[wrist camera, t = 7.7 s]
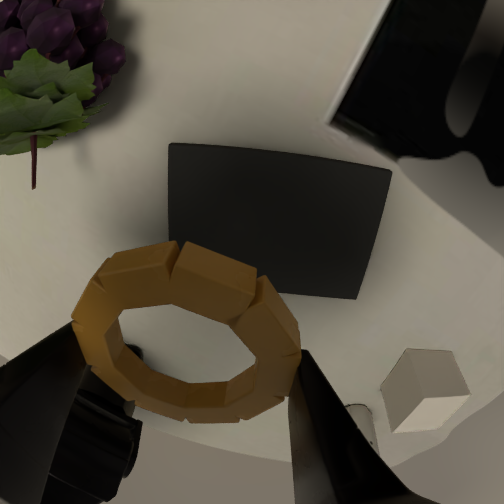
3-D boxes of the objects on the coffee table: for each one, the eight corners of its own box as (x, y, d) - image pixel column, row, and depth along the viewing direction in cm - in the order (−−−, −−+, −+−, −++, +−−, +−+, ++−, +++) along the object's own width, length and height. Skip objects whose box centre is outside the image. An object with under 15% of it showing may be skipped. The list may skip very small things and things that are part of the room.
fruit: (145, -18, 15) (141, 174, 19) (24, 18, 14) (14, 194, 18) (112, -105, 5) (71, 179, 9) (-45, -29, 4) (-85, 217, 8)
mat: (389, 169, 18) (393, 172, 18) (354, 295, 23) (356, 300, 23) (171, 142, 19) (168, 144, 18) (172, 275, 23) (170, 280, 23)
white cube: (450, 350, 27) (471, 394, 21) (423, 386, 29) (437, 429, 24) (406, 348, 26) (424, 398, 21) (380, 386, 29) (391, 433, 24)
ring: (317, 253, 8) (323, 280, 7) (277, 408, 12) (277, 433, 11) (70, 228, 8) (47, 248, 7) (112, 383, 12) (103, 404, 11)
